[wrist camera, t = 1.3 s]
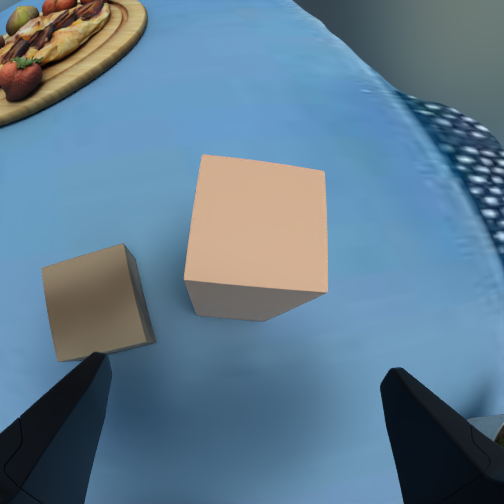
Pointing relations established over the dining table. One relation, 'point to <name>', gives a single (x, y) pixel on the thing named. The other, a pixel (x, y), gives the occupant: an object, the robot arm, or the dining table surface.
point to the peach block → (256, 239)
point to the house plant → (490, 427)
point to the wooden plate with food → (62, 50)
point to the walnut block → (96, 304)
